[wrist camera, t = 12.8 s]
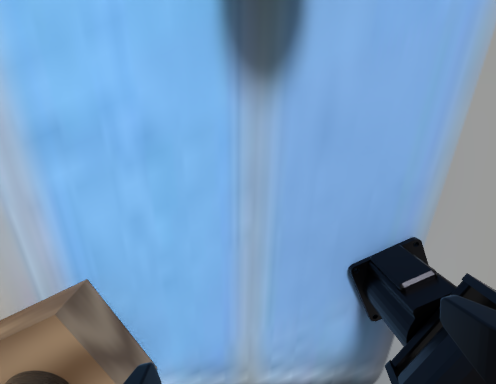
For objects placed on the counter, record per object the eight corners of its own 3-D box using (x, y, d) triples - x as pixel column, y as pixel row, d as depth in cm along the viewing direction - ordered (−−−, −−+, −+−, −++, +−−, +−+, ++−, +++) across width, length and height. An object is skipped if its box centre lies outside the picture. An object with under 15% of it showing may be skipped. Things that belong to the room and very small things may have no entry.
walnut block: (156, 367, 24) (142, 414, 20) (58, 411, 25) (26, 464, 21) (87, 279, 21) (54, 314, 17) (-23, 331, 22) (-78, 377, 18)
